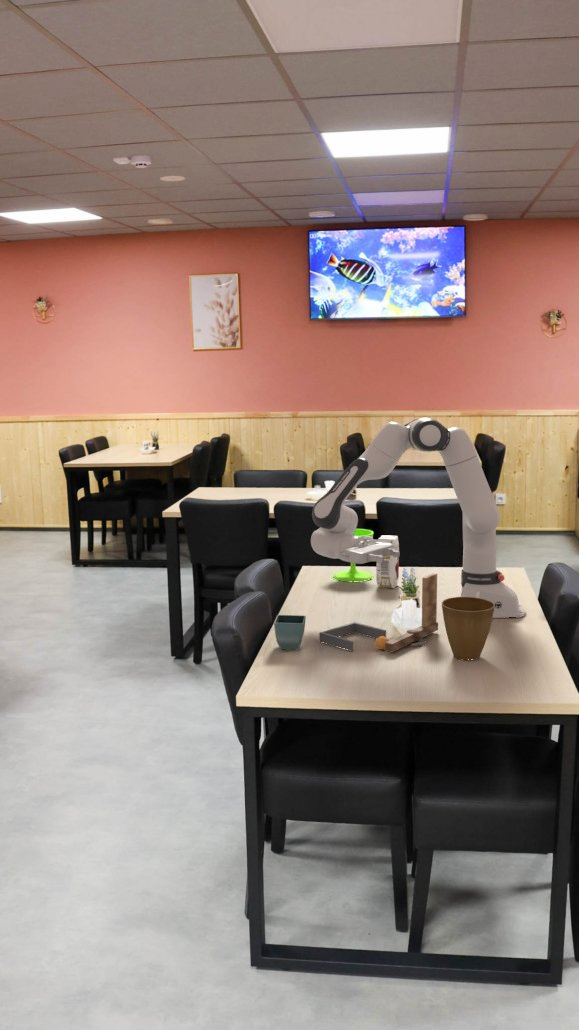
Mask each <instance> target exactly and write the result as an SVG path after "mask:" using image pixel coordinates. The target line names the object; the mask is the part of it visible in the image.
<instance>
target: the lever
mask: <svg viewBox="0 0 579 1030" xmlns="http://www.w3.org/2000/svg"><path fill="white" fill-rule="evenodd" d="M421 578H422V579H421V581H422V584H421V587H422V588H421V589H422V590H421V591H422V593H421V601H422V602H421V626H418V627H416V628H414V629H408V630H406V632H405V633H403V634H400V635H398V636H396V637H395V638H392V639H390V640H389V641H388V642H386V643H385V649H384V651H386V652H390V653H394V652H395V651H398V650H399V649H401V648H404V647H407V646H406V645H408V644H410V643H412V642H414V641H419V640H420V638H424V637H426V636H428V635H430V634H432V633H435V632H436V631H438V630H439V622H437V621H438V620H437V618H438V617H437V616H438V615H437V613H438V611H437V609H438V608H437V607H438V606H437V605H438V603H437V602H438V600H437V599H438V573H434V572H433V573H431V574H429V575H425V576H424V577H421Z"/></svg>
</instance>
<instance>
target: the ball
mask: <svg viewBox="0 0 579 1030" xmlns="http://www.w3.org/2000/svg"><path fill="white" fill-rule="evenodd" d="M388 641H390V640H389V639H388V637H387V636H386V637H384V636H380V637H378V638H375V646H376V648H377V649H379V650H384V651H385V643H386V642H388Z"/></svg>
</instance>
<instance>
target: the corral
mask: <svg viewBox="0 0 579 1030" xmlns="http://www.w3.org/2000/svg"><path fill="white" fill-rule="evenodd" d="M353 632H354V633H355V632H356V634H359V633H360V634H359V635H363V634H364V635H363V636H366V635H368V636H367V637H370V636H371V638H373V637H375V638H374V639H377V638H378V637H380V636H384V637H386V638H387V630H386V629H383V628H379V627H375V626H371V625H368V624H363V623H361V622H356V621H354V622H349V623H346V624H344V625H340V626H337V627H333V628H331V629H326V630H324V631H320V632H319V634H318V635H319V636H318V637H319V639H318V641H320V642H319V643H321V642H324V643H327V644H331V645H334V646H338V647H341V648H345V649H348V650H353V651H354V640H351V639H348V638H345V637H344V638H343V636H342V635H345V636H347V635H346V634H348V635H350V634H349V633H351V634H354V633H353ZM339 636H342V637H339ZM324 643H323V644H324ZM327 644H326V645H327ZM331 645H330V646H331ZM334 646H333V647H334ZM341 648H340V649H341Z"/></svg>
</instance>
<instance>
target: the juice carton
mask: <svg viewBox="0 0 579 1030" xmlns="http://www.w3.org/2000/svg"><path fill="white" fill-rule="evenodd" d="M377 540H381V541H384V542H388V543H391V544H393V545H394V550H395V551H399V552H400V543H399V537H398V535H390V534H389V535H380V537H378V539H377ZM399 558H400V556H399V557H392V556H387V557H384V561H382V562H377V561H376V570H375V571H376V585H377V588H378V589H387V588H394V589H395V587H397V585H398V582H399V578H400V577H399V575H400V572H399V568H400V567H399V566H400V563H399V562H400V561H399V560H400V559H399Z"/></svg>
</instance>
